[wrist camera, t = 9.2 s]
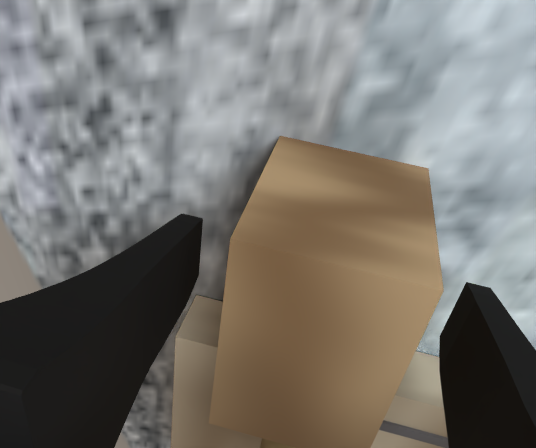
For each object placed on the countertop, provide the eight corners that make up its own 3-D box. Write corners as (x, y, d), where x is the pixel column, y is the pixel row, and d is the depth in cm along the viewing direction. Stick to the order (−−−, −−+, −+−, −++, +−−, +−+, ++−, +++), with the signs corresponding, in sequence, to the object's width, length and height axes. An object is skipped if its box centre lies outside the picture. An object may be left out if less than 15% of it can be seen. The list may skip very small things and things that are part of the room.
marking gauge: (428, 167, 13) (443, 290, 9) (337, 413, 19) (322, 552, 15) (280, 134, 13) (230, 238, 9) (238, 386, 20) (198, 514, 16)
